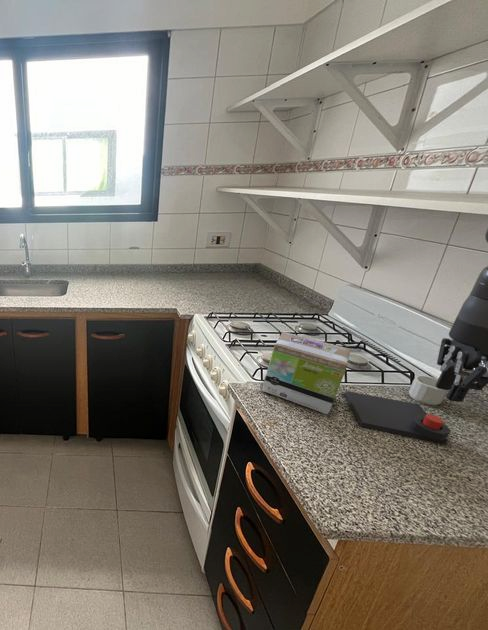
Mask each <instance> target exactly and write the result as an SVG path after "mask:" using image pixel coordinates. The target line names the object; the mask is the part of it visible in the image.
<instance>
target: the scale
mask: <svg viewBox="0 0 488 630" xmlns="http://www.w3.org/2000/svg"><path fill="white" fill-rule="evenodd" d="M343 395H344V397H345V399H346V401H347V403H348V404H349V406H350V408H351V411H352V412H353V414H354V416H355V418H356V420H357V422H358V424H359V425H360V427H361V428H367V429H372V430H377V431H381V432H386V433H390V434H396V435H400V436H405V437H410V438H415V439H418V440H419V439H420V440H424V441H429V442H434V443H439V444H443V445H446V444H447V442H448V436H449V435H450V432H451V429H450V428H449V427H448V425H446V424H445V423H443V424H442V426H441V428H440V430H435V429H432V428H429V427H427V426H425V425H424V424H423V423H422V422H423V420H424V418H425V416H426V415H427V412H426V411H425V410H424V409H423V408H422V406H421V405H420V403H414V402H409V401H402V400H397V399H392V398H386V397H381V396H376V395H375V396H374V395H371V394H364V393H359V392H354V391H349V390H345V391H344V393H343Z"/></svg>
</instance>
